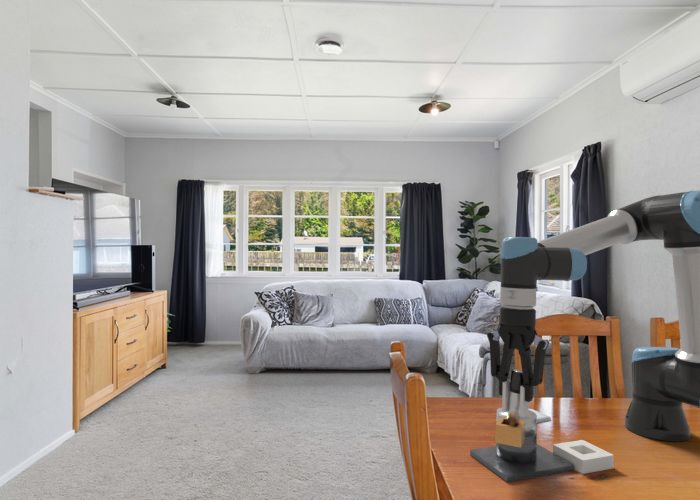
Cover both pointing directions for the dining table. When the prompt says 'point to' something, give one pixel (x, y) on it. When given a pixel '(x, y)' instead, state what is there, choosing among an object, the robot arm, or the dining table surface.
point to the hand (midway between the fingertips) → (515, 412)
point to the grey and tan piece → (514, 429)
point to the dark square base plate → (521, 460)
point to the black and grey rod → (514, 397)
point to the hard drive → (541, 416)
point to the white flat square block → (584, 456)
